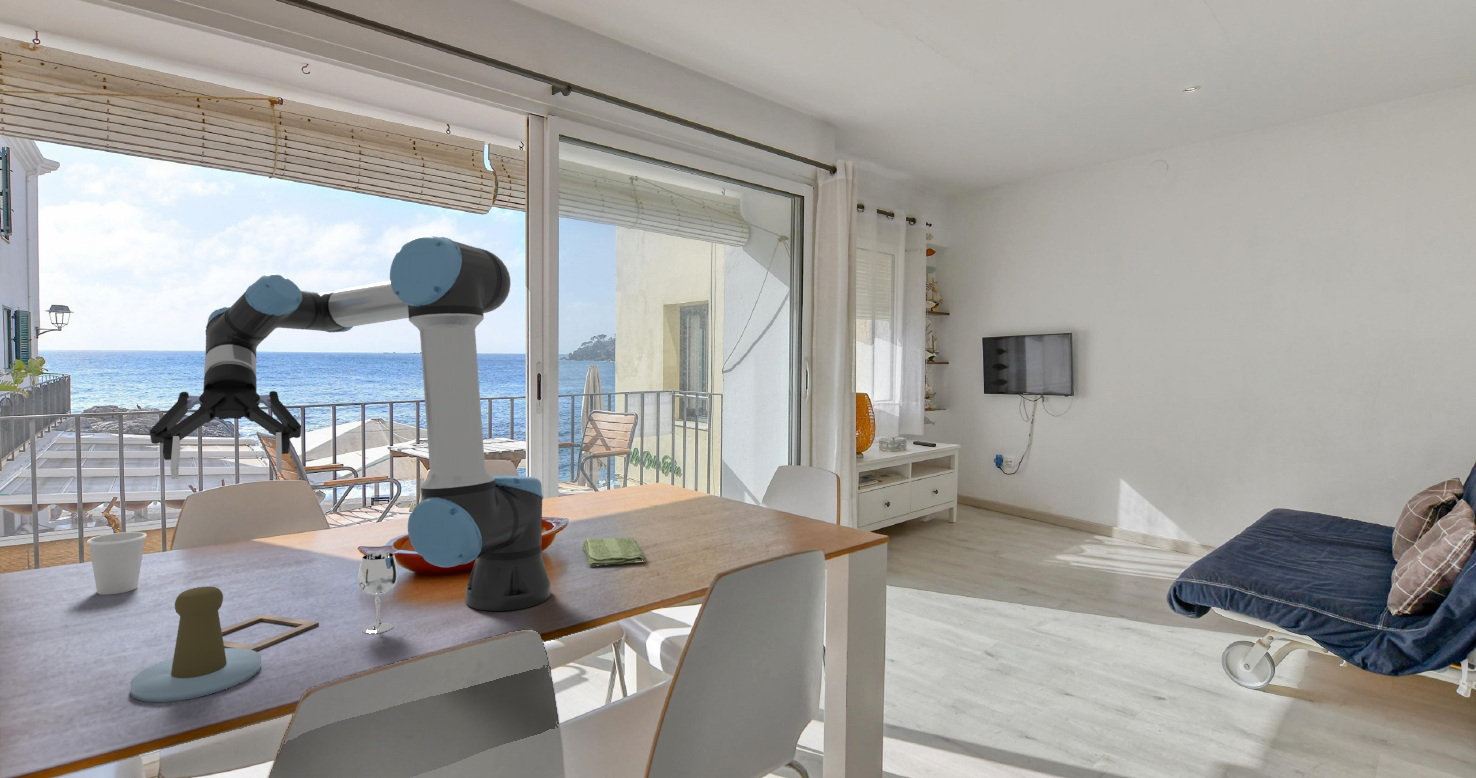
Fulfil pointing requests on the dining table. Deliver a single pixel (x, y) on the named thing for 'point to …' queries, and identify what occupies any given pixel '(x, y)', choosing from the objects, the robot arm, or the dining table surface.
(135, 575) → the dixie cup
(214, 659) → the cork
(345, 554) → the dining table surface
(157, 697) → the saucer
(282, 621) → the walnut frame
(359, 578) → the wineglass
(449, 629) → the dining table surface
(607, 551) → the washcloth
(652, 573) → the dining table surface
